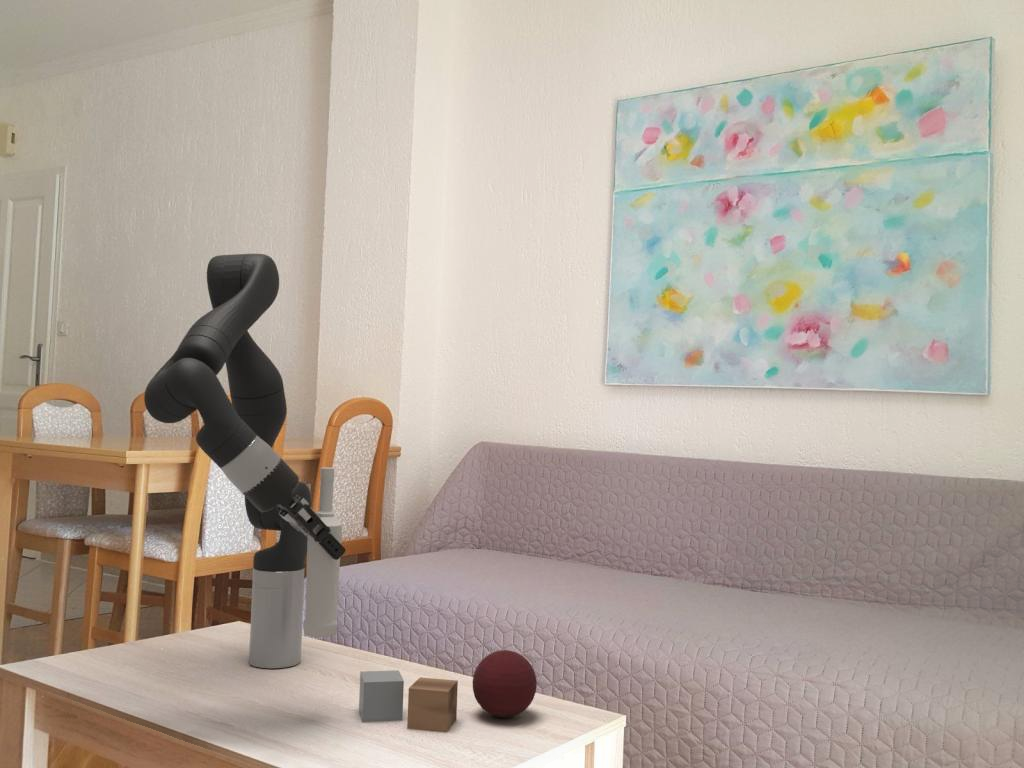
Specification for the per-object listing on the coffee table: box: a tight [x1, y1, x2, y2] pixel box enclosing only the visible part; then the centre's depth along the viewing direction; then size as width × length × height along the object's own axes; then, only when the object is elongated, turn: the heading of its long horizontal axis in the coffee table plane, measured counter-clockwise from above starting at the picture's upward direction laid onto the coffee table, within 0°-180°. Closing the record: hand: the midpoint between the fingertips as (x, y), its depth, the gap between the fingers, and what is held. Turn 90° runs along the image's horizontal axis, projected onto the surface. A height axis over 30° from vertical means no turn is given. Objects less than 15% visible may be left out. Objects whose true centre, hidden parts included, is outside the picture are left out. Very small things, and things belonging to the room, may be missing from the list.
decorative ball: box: [472, 649, 538, 719], centre depth 144 cm, size 10×10×10 cm
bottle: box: [302, 467, 343, 638], centre depth 141 cm, size 5×5×25 cm
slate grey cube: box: [358, 669, 405, 723], centre depth 143 cm, size 6×6×6 cm
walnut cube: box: [406, 677, 459, 734], centre depth 140 cm, size 6×6×6 cm
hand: (335, 552), depth 142 cm, fingers closed on bottle, 5 cm apart
